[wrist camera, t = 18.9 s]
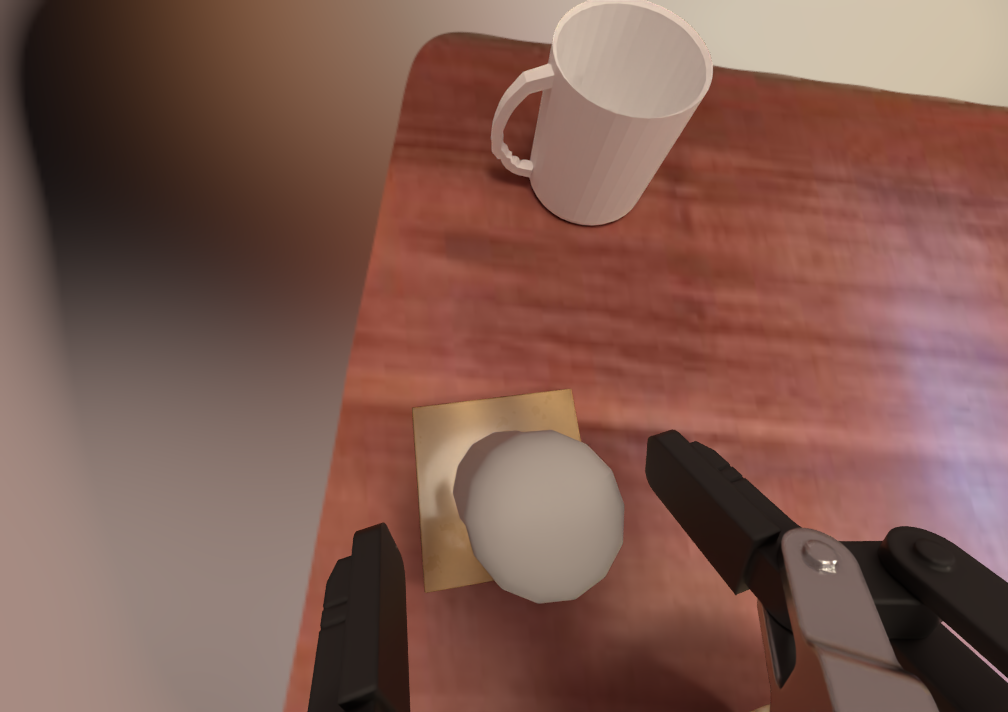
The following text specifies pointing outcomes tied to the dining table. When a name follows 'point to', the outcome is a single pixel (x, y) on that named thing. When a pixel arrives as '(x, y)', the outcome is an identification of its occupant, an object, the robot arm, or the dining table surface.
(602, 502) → the salt shaker
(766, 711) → the bowl
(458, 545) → the wooden square board
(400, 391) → the dining table surface
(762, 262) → the dining table surface
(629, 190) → the mug
